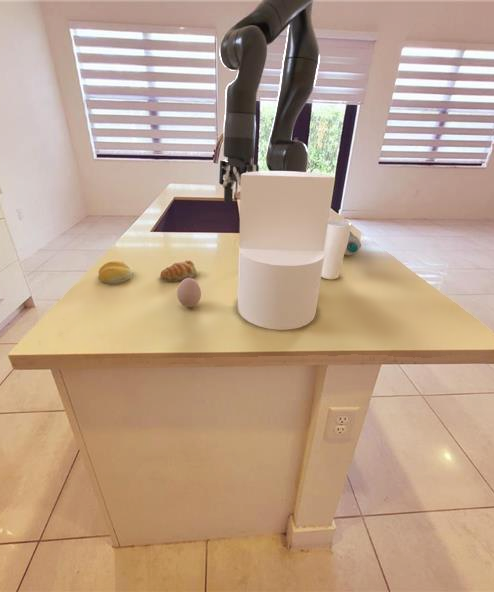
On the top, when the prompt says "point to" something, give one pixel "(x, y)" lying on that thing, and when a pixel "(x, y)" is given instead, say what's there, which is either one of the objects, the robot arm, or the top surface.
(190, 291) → the egg
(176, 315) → the top surface
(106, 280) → the bread roll
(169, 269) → the pastry
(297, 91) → the robot arm
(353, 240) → the detergent
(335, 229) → the drinking glass
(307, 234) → the white chair
